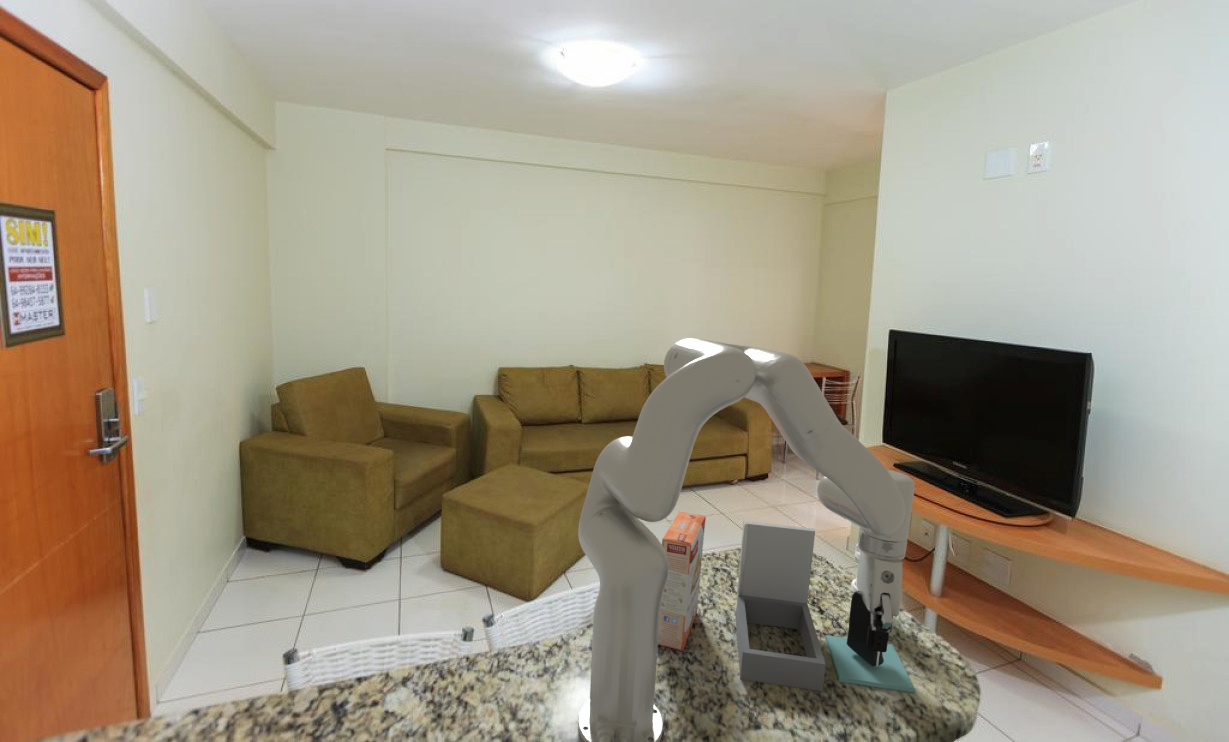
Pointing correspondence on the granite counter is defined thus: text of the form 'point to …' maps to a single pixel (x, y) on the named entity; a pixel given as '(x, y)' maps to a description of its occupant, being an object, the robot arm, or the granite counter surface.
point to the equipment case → (777, 603)
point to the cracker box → (681, 579)
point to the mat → (868, 667)
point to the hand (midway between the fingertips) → (869, 635)
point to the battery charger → (862, 630)
